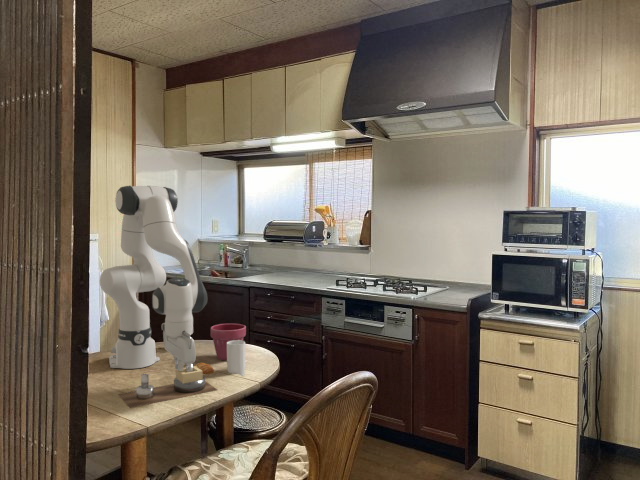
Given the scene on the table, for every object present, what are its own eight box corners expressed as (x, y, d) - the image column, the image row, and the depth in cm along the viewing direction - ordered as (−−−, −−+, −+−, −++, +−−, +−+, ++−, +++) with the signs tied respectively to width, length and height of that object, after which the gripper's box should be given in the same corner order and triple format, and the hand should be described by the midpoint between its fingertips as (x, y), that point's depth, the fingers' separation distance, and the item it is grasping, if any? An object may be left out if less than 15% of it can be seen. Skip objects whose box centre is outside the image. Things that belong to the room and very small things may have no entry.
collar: (176, 378, 172) (176, 369, 172) (195, 374, 176) (195, 365, 176) (183, 383, 167) (183, 374, 167) (202, 379, 171) (202, 370, 170)
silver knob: (134, 396, 164) (134, 374, 164) (150, 392, 167) (150, 371, 167) (139, 401, 160) (138, 378, 159) (155, 397, 163) (155, 375, 162)
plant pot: (232, 350, 223) (232, 321, 222) (253, 357, 213) (252, 326, 212) (203, 357, 212) (203, 326, 212) (224, 364, 203) (223, 332, 202)
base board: (118, 398, 165) (118, 394, 165) (201, 382, 181) (201, 378, 181) (129, 413, 154) (129, 408, 154) (217, 394, 170) (217, 389, 170)
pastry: (219, 376, 189) (219, 366, 189) (202, 380, 185) (202, 370, 184) (206, 370, 196) (206, 360, 196) (190, 374, 192) (190, 364, 191)
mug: (242, 378, 186) (241, 345, 186) (224, 377, 188) (223, 344, 187) (250, 369, 196) (250, 338, 196) (233, 368, 198) (233, 337, 197)
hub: (169, 386, 173) (169, 359, 172) (198, 381, 179) (198, 355, 178) (180, 395, 165) (179, 367, 164) (209, 389, 170) (209, 362, 170)
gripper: (200, 333, 162) (200, 377, 163) (178, 321, 179) (178, 360, 180) (180, 336, 159) (181, 380, 160) (159, 323, 176) (160, 363, 177)
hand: (179, 369), depth 170 cm, fingers closed
